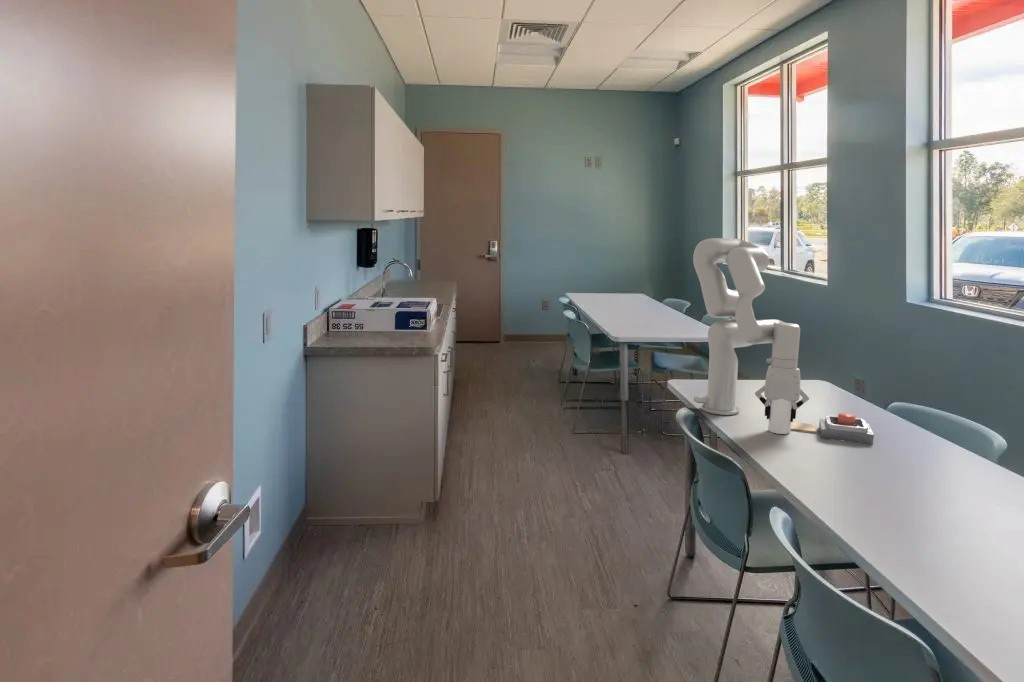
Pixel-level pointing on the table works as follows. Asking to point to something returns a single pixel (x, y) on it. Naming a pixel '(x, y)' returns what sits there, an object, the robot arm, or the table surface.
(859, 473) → the table surface
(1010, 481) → the table surface
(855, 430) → the white shallow box
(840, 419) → the button
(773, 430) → the can
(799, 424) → the coaster
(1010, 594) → the table surface
